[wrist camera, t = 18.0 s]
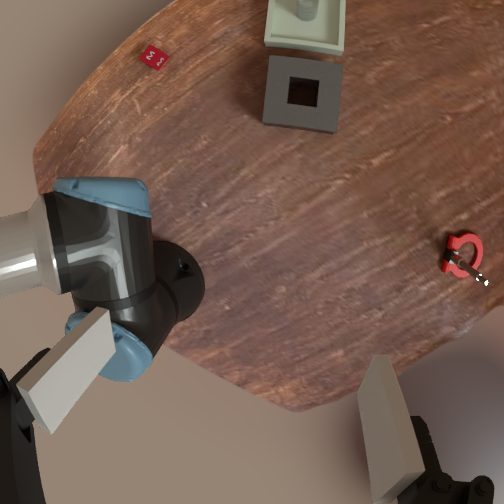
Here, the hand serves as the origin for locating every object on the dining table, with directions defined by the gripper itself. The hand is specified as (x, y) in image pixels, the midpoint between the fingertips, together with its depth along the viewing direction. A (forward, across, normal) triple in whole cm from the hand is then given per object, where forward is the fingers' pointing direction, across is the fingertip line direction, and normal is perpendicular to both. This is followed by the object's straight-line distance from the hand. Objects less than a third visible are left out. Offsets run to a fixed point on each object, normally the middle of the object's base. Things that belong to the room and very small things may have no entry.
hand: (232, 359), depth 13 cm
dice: (+35, -22, +24) cm, 48 cm away
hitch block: (+35, +2, +18) cm, 39 cm away
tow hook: (+35, +35, -2) cm, 50 cm away
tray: (+35, +2, +33) cm, 48 cm away
